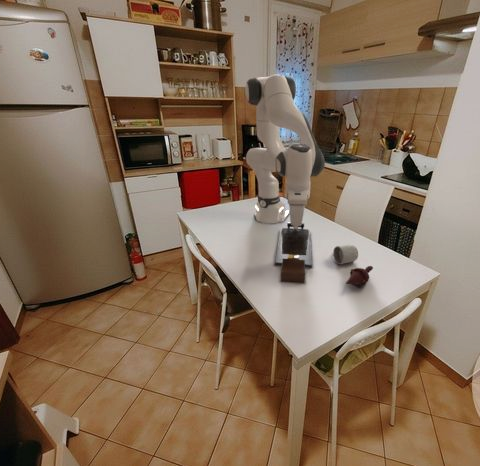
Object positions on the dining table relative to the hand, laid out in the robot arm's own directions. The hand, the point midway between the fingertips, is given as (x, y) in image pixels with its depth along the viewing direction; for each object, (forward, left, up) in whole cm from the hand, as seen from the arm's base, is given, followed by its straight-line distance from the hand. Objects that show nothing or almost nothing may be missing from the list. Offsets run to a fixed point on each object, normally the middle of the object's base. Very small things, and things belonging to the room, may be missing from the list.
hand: (295, 226), depth 101 cm
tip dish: (+1, 0, -7) cm, 7 cm away
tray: (-14, -7, -19) cm, 24 cm away
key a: (-7, -4, -17) cm, 19 cm away
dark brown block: (+5, +2, -19) cm, 20 cm away
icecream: (-3, +26, -19) cm, 32 cm away
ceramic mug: (-16, +16, -19) cm, 29 cm away
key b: (-7, -4, -18) cm, 20 cm away
